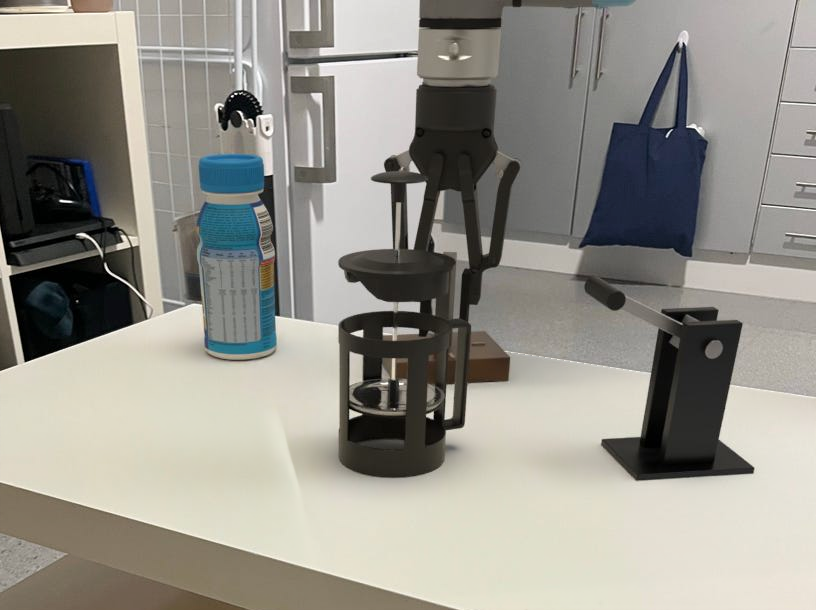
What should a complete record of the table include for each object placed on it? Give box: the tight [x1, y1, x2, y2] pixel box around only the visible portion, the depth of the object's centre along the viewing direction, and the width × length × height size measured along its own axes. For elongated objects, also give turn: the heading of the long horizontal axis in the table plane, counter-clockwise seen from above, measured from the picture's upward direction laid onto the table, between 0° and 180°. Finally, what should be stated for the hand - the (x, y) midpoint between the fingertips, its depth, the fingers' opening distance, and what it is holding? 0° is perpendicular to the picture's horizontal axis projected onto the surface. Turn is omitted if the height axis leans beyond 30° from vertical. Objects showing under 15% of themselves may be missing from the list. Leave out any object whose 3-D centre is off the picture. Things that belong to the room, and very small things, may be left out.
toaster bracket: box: [600, 306, 756, 482], centre depth 82 cm, size 10×8×13 cm
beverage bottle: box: [195, 153, 278, 361], centre depth 110 cm, size 8×8×20 cm
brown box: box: [382, 330, 511, 385], centre depth 109 cm, size 12×10×3 cm
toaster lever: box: [583, 275, 699, 348], centre depth 78 cm, size 11×5×2 cm, turn 98°
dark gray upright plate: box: [433, 251, 458, 340], centre depth 105 cm, size 5×1×9 cm, turn 168°
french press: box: [337, 171, 472, 479], centre depth 80 cm, size 12×9×23 cm
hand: (443, 333), depth 107 cm, fingers open, 3 cm apart
